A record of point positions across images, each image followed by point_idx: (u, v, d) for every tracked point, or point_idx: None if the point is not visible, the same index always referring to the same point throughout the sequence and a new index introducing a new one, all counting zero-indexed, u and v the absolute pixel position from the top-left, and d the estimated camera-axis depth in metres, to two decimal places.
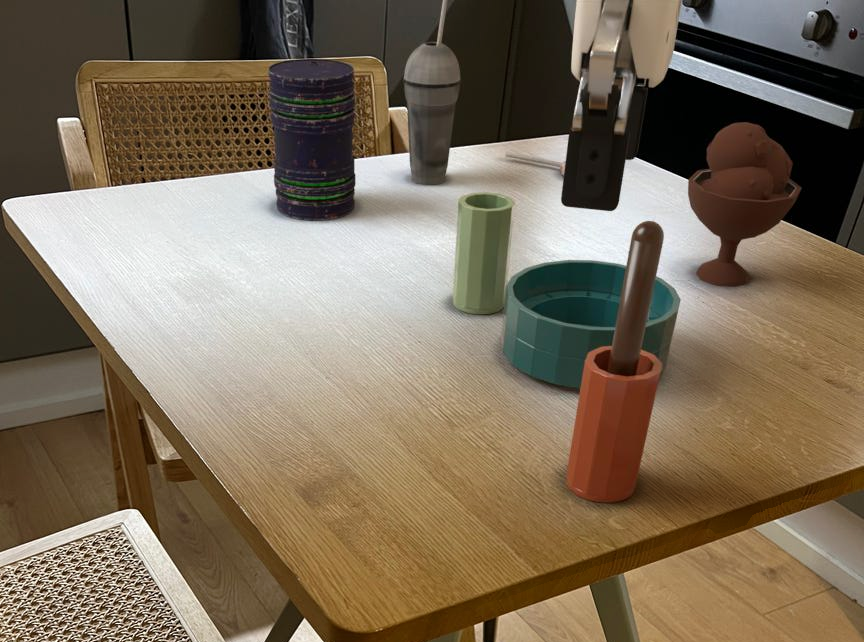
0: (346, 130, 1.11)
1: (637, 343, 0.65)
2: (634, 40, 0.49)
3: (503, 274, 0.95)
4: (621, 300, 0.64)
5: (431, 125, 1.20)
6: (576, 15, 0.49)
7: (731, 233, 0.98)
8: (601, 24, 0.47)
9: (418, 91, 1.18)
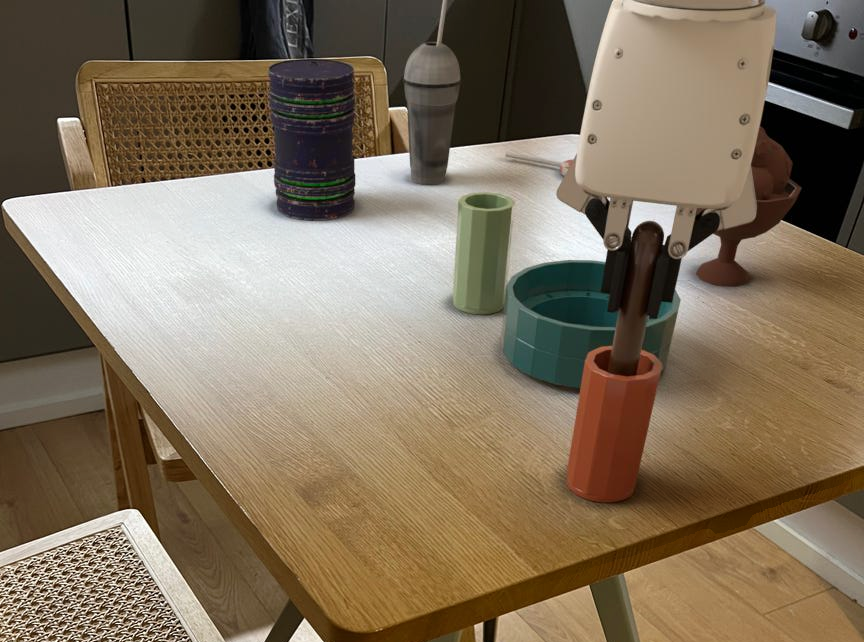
0: (346, 130, 1.11)
1: (637, 343, 0.65)
2: None
3: (503, 274, 0.95)
4: (621, 300, 0.64)
5: (431, 125, 1.20)
6: (745, 155, 0.55)
7: (731, 233, 0.98)
8: (752, 182, 0.57)
9: (418, 91, 1.18)
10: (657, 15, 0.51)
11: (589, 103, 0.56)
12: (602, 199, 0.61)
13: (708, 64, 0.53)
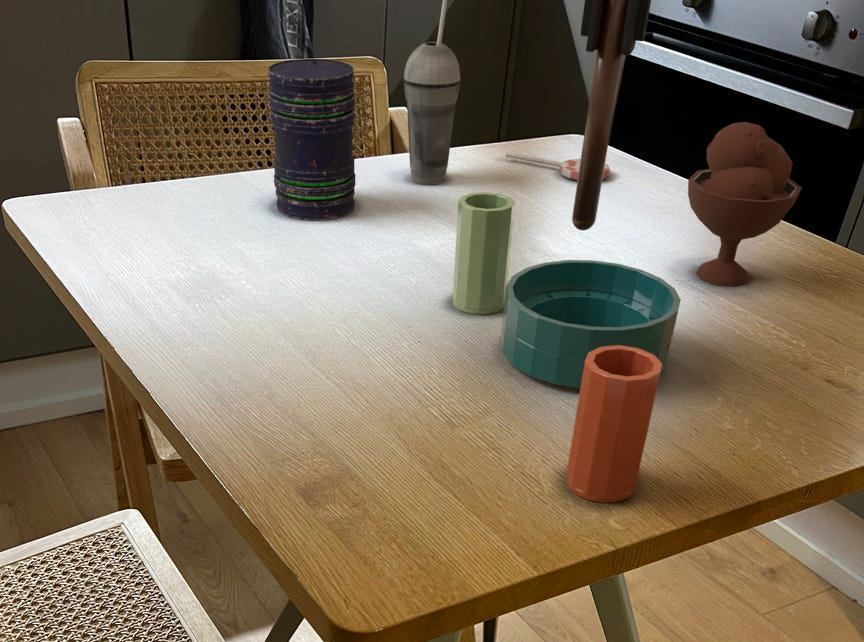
0: (346, 130, 1.11)
1: (613, 84, 0.74)
2: None
3: (503, 274, 0.95)
4: (599, 41, 0.73)
5: (431, 125, 1.20)
6: None
7: (731, 233, 0.98)
8: None
9: (418, 91, 1.18)
10: None
11: None
12: None
13: None
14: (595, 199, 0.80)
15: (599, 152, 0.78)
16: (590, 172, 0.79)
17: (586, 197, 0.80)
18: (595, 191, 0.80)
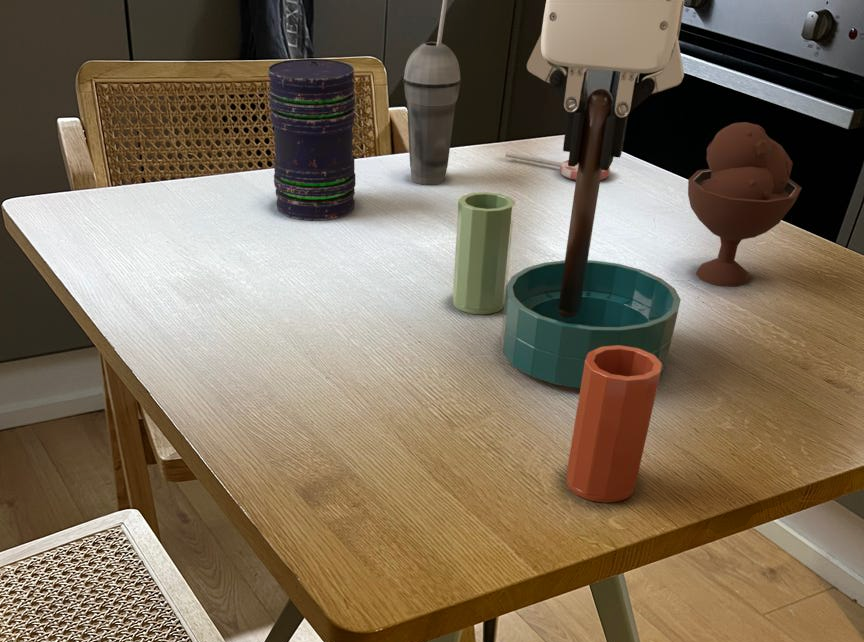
0: (346, 130, 1.11)
1: (593, 193, 0.81)
2: None
3: (503, 274, 0.95)
4: (580, 156, 0.80)
5: (431, 125, 1.20)
6: (670, 26, 0.71)
7: (731, 233, 0.98)
8: (678, 51, 0.73)
9: (418, 91, 1.18)
10: None
11: None
12: (563, 70, 0.77)
13: None
14: (579, 292, 0.87)
15: (582, 252, 0.85)
16: (574, 269, 0.86)
17: (570, 291, 0.87)
18: (579, 285, 0.87)
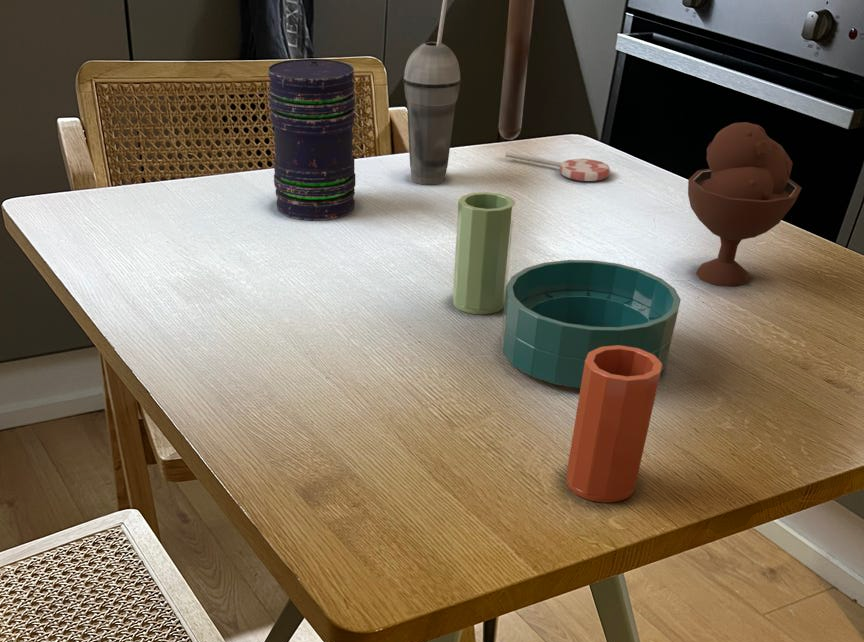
0: (346, 130, 1.11)
1: None
2: None
3: (503, 274, 0.95)
4: None
5: (431, 125, 1.20)
6: None
7: (731, 233, 0.98)
8: None
9: (418, 91, 1.18)
10: None
11: None
12: None
13: None
14: (519, 107, 0.84)
15: (520, 59, 0.81)
16: (512, 80, 0.82)
17: (510, 105, 0.84)
18: (518, 98, 0.83)
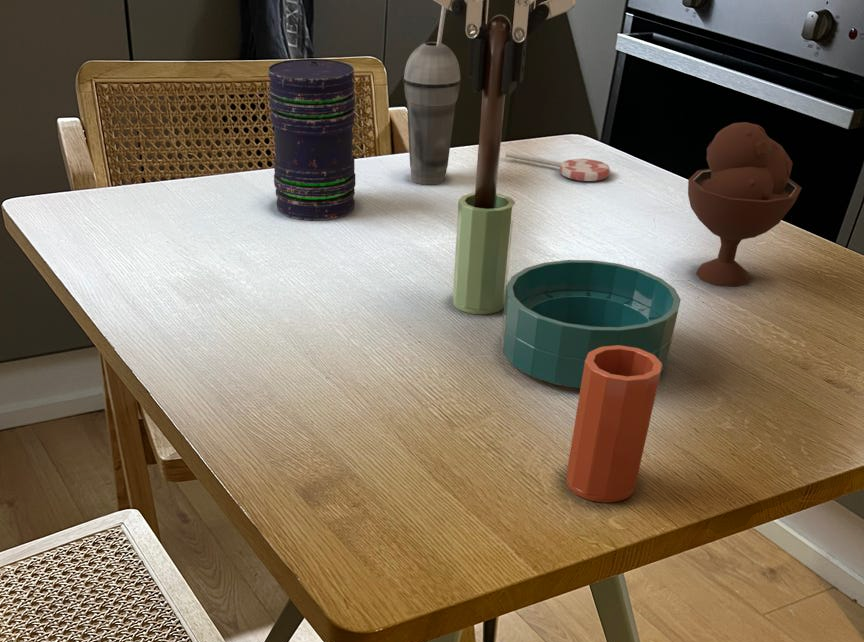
0: (346, 130, 1.11)
1: (497, 118, 0.86)
2: None
3: (503, 274, 0.95)
4: None
5: (431, 125, 1.20)
6: None
7: (731, 233, 0.98)
8: None
9: (418, 91, 1.18)
10: None
11: None
12: None
13: None
14: None
15: (490, 176, 0.89)
16: (483, 194, 0.90)
17: None
18: None
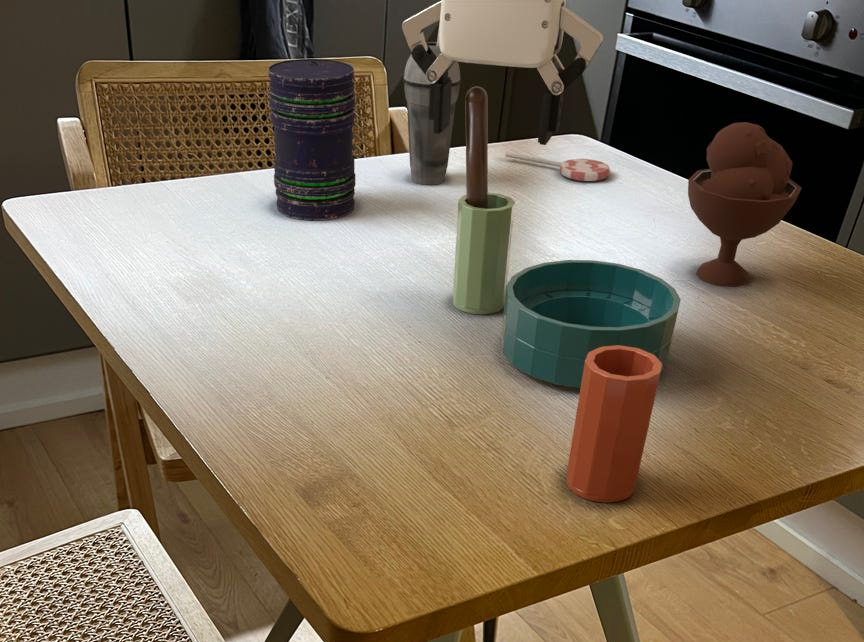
0: (346, 130, 1.11)
1: (482, 181, 0.90)
2: (562, 30, 0.82)
3: (503, 274, 0.95)
4: (466, 149, 0.89)
5: (431, 125, 1.20)
6: (551, 25, 0.79)
7: (731, 233, 0.98)
8: (581, 22, 0.80)
9: (418, 91, 1.18)
10: None
11: None
12: (424, 45, 0.85)
13: None
14: None
15: None
16: None
17: None
18: None
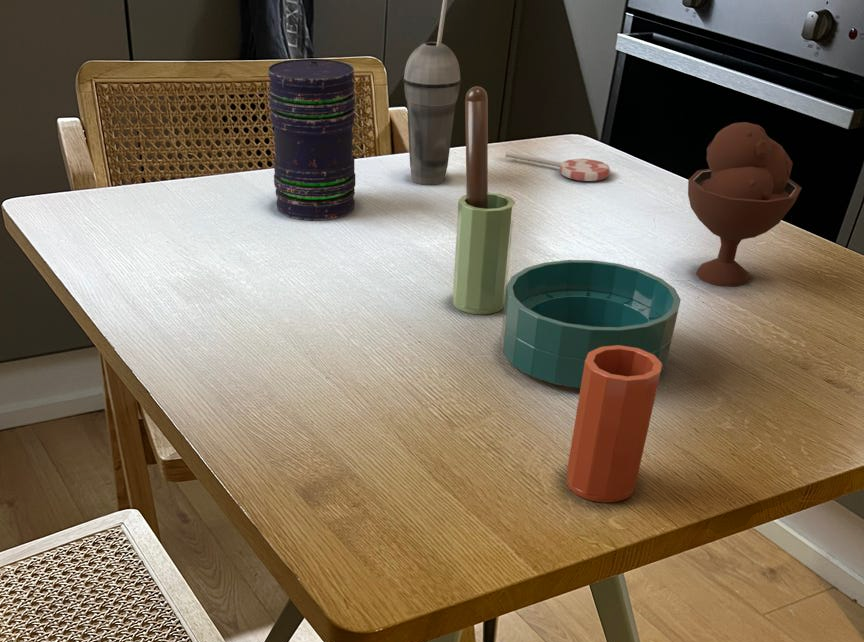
0: (346, 130, 1.11)
1: (482, 181, 0.90)
2: None
3: (503, 274, 0.95)
4: (466, 149, 0.89)
5: (431, 125, 1.20)
6: None
7: (731, 233, 0.98)
8: None
9: (418, 91, 1.18)
10: None
11: None
12: None
13: None
14: None
15: None
16: None
17: None
18: None
